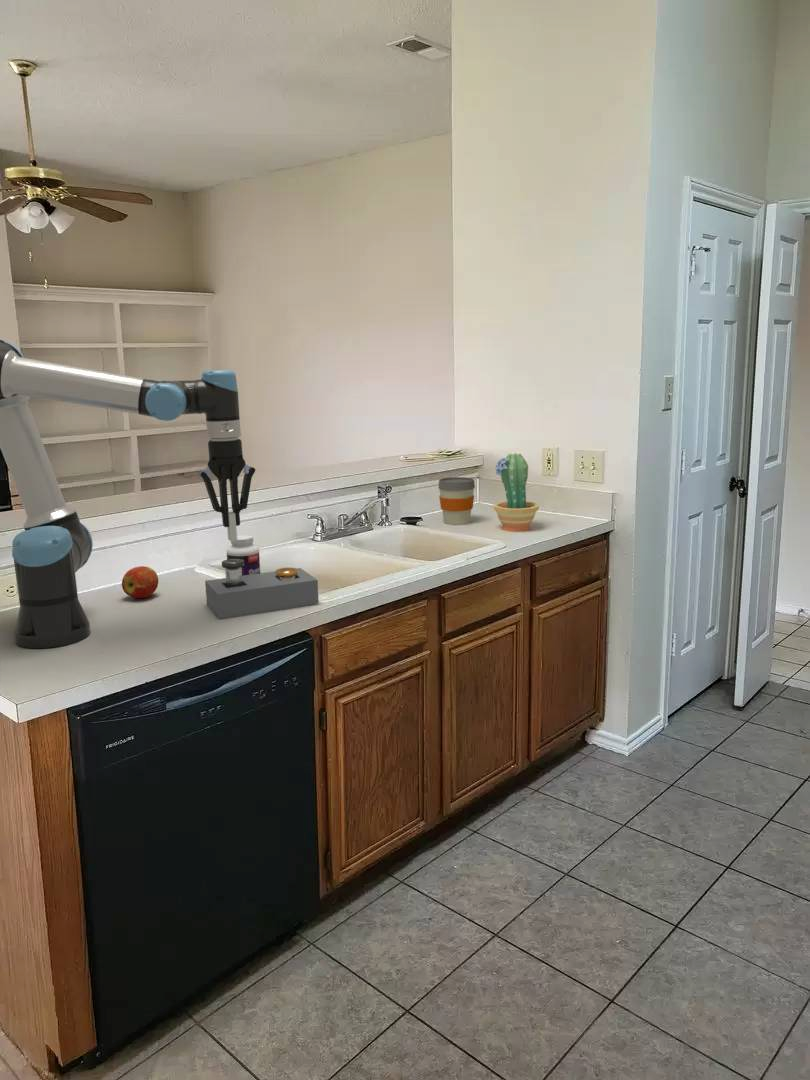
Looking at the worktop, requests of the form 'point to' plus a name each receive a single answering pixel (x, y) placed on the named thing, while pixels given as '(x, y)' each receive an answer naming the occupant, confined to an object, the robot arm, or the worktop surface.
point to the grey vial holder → (261, 594)
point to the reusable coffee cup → (456, 499)
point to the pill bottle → (245, 554)
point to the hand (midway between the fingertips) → (232, 539)
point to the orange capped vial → (286, 573)
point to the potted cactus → (514, 494)
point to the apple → (140, 582)
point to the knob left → (233, 572)
